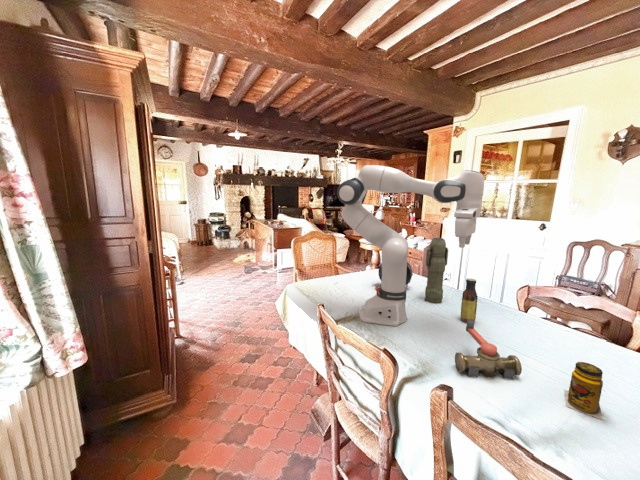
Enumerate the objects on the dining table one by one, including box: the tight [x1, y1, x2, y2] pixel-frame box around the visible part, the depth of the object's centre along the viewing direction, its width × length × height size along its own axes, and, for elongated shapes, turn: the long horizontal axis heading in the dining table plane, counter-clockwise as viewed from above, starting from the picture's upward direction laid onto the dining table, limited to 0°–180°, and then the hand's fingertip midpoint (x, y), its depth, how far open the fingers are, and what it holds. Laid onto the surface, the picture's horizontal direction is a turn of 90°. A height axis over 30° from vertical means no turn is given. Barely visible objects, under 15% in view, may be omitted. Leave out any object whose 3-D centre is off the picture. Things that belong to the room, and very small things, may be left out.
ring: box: [378, 261, 414, 286], centre depth 166 cm, size 11×20×20 cm, turn 89°
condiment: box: [564, 361, 604, 420], centre depth 74 cm, size 7×8×12 cm
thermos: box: [424, 237, 449, 305], centre depth 145 cm, size 9×12×35 cm
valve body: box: [454, 346, 523, 380], centre depth 88 cm, size 18×6×7 cm, turn 85°
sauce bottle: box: [460, 278, 479, 323], centre depth 123 cm, size 7×6×20 cm
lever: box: [465, 320, 498, 356], centre depth 93 cm, size 4×16×4 cm, turn 175°
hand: (464, 245), depth 110 cm, fingers open, 8 cm apart
